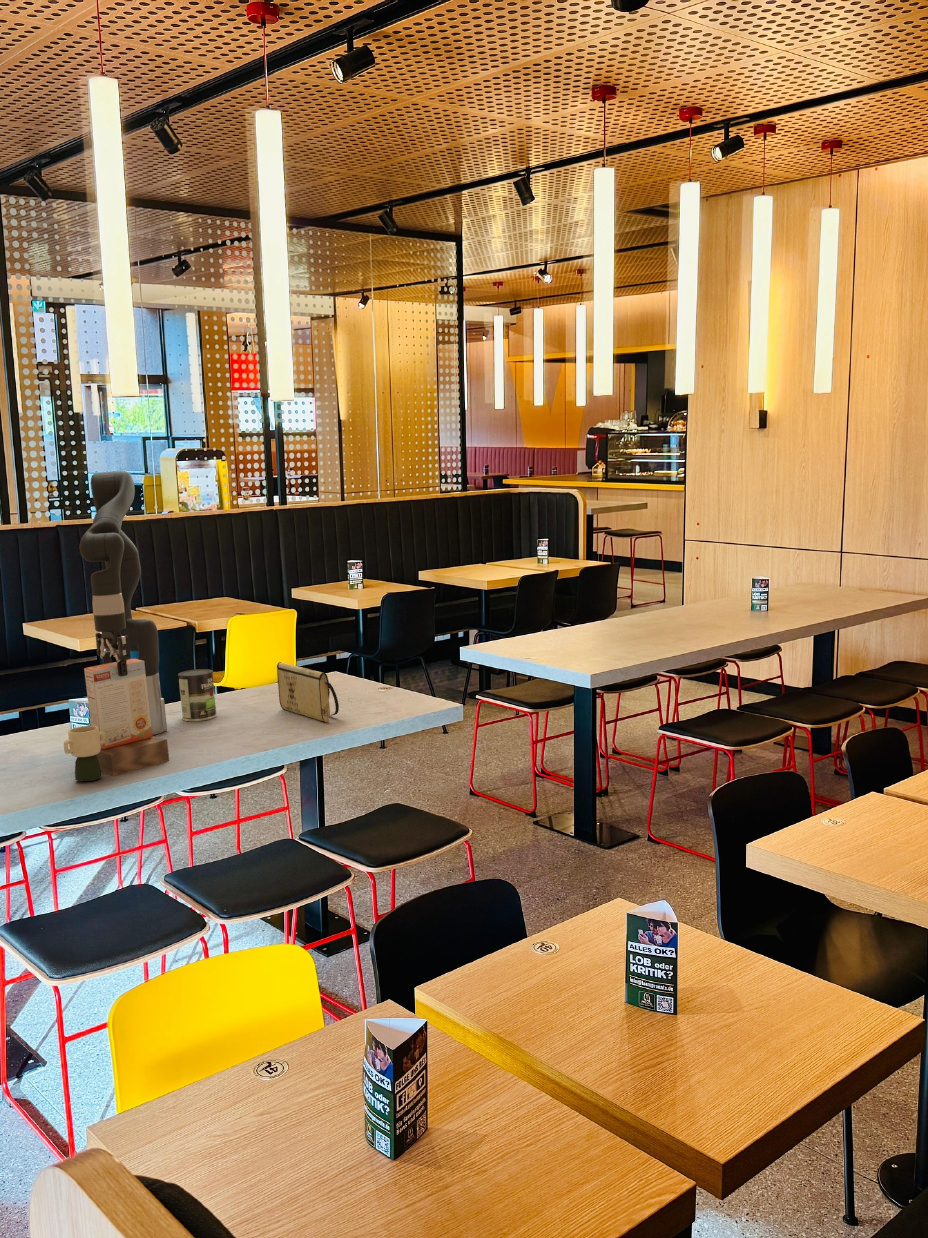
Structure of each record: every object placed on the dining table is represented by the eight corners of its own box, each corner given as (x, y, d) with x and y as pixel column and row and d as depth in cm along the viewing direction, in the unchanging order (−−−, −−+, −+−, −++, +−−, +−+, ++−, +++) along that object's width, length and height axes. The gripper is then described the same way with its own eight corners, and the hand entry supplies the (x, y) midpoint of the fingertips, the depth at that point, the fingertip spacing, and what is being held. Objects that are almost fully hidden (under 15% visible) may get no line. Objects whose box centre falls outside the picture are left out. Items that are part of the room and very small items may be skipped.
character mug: (100, 772, 262) (95, 722, 260) (116, 776, 258) (111, 725, 256) (60, 783, 254) (54, 732, 252) (76, 788, 249) (70, 736, 247)
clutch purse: (346, 720, 303) (342, 670, 301) (325, 725, 299) (321, 674, 296) (296, 705, 326) (292, 658, 324) (276, 709, 322) (272, 661, 320)
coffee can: (223, 713, 319) (219, 669, 317) (204, 722, 309) (200, 676, 307) (194, 712, 322) (190, 668, 320) (175, 721, 313) (171, 675, 311)
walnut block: (136, 752, 281) (134, 731, 280) (169, 761, 270) (167, 739, 269) (81, 767, 269) (78, 745, 268) (113, 777, 258) (110, 754, 257)
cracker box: (142, 734, 275) (135, 657, 272) (153, 738, 271) (145, 660, 268) (91, 746, 266) (83, 666, 262) (101, 750, 262) (93, 669, 258)
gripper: (135, 611, 261) (142, 674, 263) (110, 608, 271) (117, 668, 273) (107, 615, 256) (114, 680, 258) (82, 611, 266) (89, 673, 268)
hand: (115, 674), depth 266 cm, fingers open, 8 cm apart
